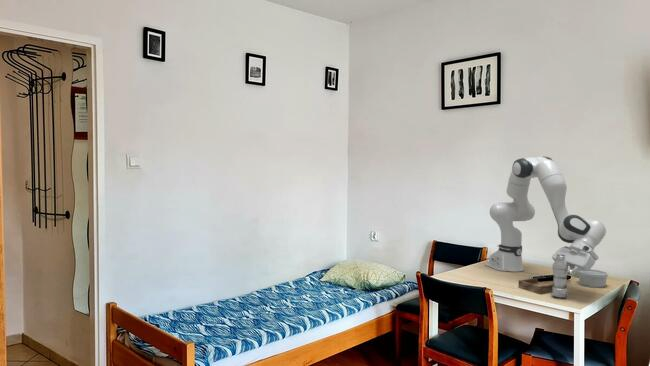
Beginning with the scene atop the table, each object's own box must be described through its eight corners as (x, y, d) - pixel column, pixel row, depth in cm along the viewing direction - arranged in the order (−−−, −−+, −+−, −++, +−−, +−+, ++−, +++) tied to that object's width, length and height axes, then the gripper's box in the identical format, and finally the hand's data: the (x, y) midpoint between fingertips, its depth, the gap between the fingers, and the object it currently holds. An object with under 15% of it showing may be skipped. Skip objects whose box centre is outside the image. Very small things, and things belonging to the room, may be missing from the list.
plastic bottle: (568, 300, 213) (569, 257, 212) (552, 298, 215) (553, 255, 214) (566, 296, 219) (568, 254, 218) (550, 294, 221) (552, 253, 220)
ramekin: (583, 280, 248) (583, 267, 248) (610, 285, 238) (611, 271, 238) (573, 284, 239) (573, 271, 239) (601, 290, 229) (602, 276, 229)
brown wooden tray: (518, 287, 233) (518, 280, 233) (536, 284, 239) (536, 277, 239) (540, 294, 222) (540, 287, 221) (559, 291, 227) (559, 284, 227)
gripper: (559, 241, 227) (542, 262, 225) (594, 249, 208) (575, 272, 206) (566, 250, 229) (549, 270, 227) (601, 258, 209) (583, 281, 207)
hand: (562, 271), depth 216 cm, fingers open, 8 cm apart
